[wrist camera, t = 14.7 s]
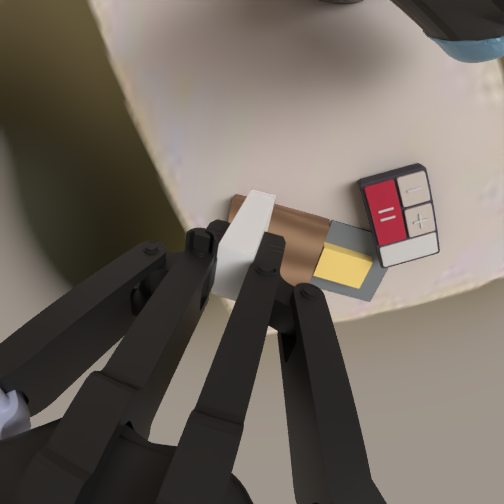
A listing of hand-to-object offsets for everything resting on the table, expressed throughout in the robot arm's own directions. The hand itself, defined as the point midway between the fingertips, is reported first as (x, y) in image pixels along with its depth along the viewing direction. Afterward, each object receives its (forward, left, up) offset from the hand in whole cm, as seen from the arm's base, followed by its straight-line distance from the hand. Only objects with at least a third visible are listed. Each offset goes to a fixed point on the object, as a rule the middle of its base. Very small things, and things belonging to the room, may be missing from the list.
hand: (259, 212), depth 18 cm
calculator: (+7, +20, -29) cm, 36 cm away
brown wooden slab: (+19, +1, -29) cm, 35 cm away
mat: (+19, +16, -29) cm, 38 cm away
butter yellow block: (+19, +14, -29) cm, 38 cm away
